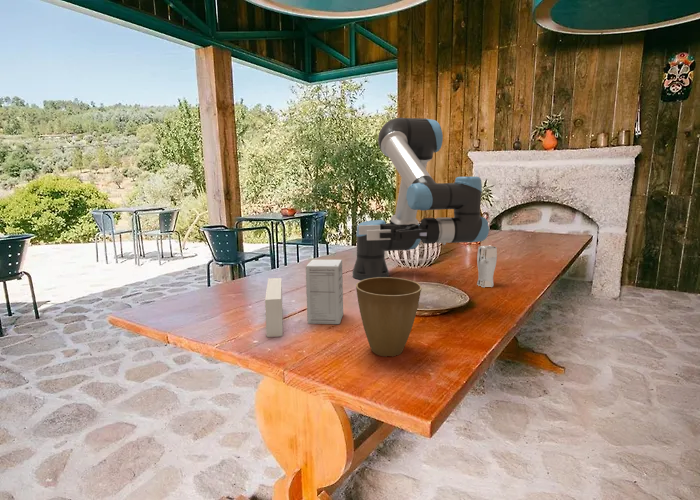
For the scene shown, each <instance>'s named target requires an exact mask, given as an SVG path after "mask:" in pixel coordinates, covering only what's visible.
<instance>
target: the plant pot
mask: <svg viewBox="0 0 700 500" xmlns="http://www.w3.org/2000/svg"><path fill="white" fill-rule="evenodd" d="M355 288H356V297H357V302H358V308H359V313H360V317H361V322H362V325H363V329H364V334H365V337H366V338H367V341H368V344H369V345H368V346H369V347H370V350H371V351H372V353H374V354H375V355H377V356H381V357H387V356H392V357H395V356H396V355H397V356H400V355H401V354H402V353H403V351H404V348H405V346H406V344H407V342H408V340H409V337H410V334H411V331H412V328H413V326H414V322H415V319H416V315H417V312H418V307H419V303H420V299H421V298H420V297H421V292H422V286H421V284H419V283H418V282H416V281H413V280H410V279H406V278H399V277H390V276H389V277H377V278H369V279H364V280H359V281H358V282H356V283H355Z"/></svg>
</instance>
